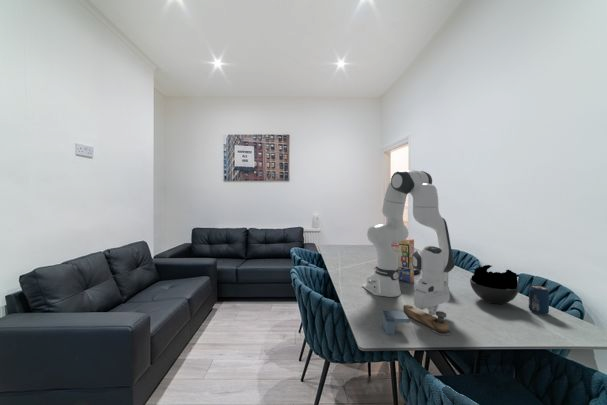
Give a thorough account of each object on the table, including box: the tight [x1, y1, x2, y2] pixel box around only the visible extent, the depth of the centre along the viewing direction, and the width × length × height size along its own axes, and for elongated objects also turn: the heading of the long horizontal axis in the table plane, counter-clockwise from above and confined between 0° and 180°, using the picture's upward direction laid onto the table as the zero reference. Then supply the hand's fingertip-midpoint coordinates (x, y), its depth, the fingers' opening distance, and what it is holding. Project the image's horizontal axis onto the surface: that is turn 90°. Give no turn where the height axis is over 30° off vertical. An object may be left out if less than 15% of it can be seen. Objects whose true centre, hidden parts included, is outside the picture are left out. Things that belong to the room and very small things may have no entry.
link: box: [402, 304, 450, 333], centre depth 108 cm, size 21×6×7 cm, turn 28°
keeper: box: [381, 310, 410, 335], centre depth 102 cm, size 8×7×6 cm
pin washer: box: [430, 327, 452, 336], centre depth 102 cm, size 7×7×1 cm
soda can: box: [528, 284, 550, 316], centre depth 118 cm, size 7×7×12 cm
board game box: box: [391, 238, 415, 283], centre depth 167 cm, size 20×6×27 cm, turn 46°
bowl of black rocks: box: [469, 264, 520, 305], centre depth 129 cm, size 20×20×19 cm
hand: (432, 314), depth 112 cm, fingers closed
